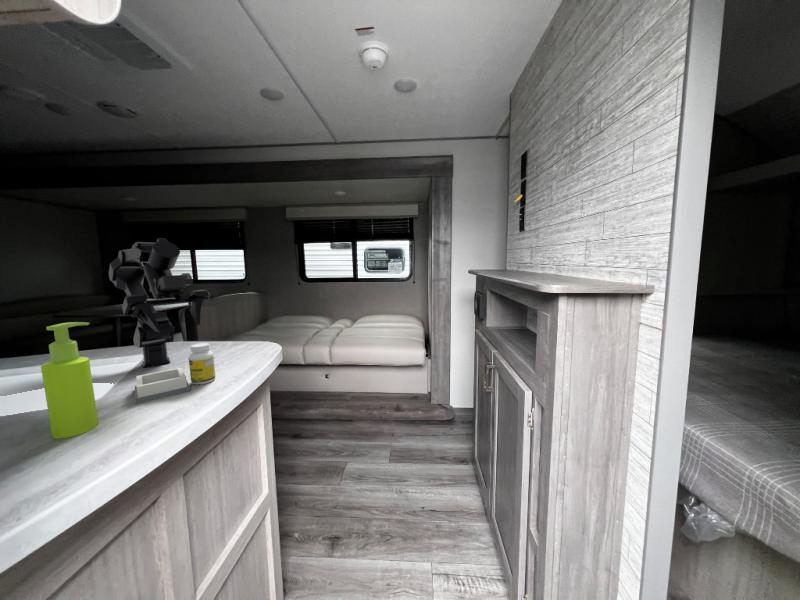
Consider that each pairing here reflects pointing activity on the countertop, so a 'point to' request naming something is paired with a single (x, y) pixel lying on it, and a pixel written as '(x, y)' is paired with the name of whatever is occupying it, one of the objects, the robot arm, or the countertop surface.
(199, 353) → the supplement bottle
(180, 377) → the cream square open box
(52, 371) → the soap dispenser
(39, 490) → the countertop surface
